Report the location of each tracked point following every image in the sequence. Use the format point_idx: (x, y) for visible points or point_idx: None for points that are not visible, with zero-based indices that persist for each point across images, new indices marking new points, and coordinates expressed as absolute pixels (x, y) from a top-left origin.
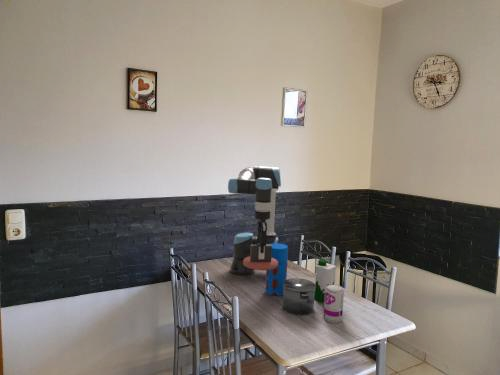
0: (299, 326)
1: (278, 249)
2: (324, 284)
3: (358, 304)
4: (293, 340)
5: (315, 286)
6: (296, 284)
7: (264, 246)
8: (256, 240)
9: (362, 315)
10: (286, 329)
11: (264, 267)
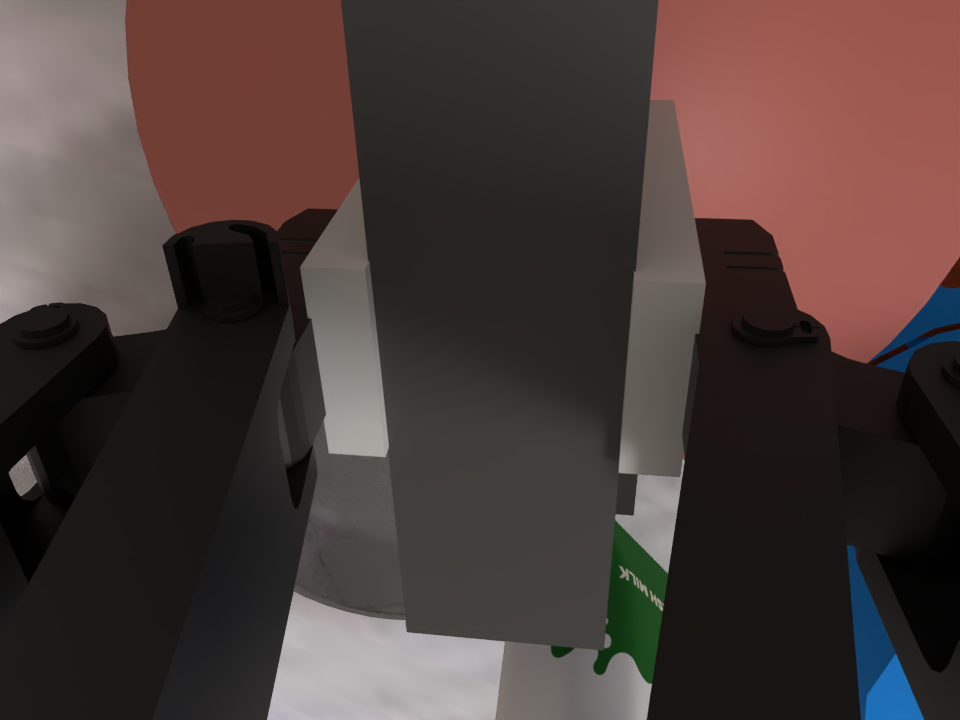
0: (88, 254)
1: (875, 666)
2: (504, 676)
3: (484, 712)
4: None
5: (321, 602)
6: (363, 462)
7: (330, 434)
8: None
9: (322, 669)
10: (10, 135)
11: (147, 150)
